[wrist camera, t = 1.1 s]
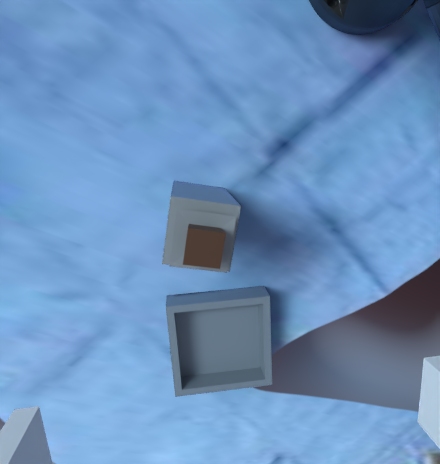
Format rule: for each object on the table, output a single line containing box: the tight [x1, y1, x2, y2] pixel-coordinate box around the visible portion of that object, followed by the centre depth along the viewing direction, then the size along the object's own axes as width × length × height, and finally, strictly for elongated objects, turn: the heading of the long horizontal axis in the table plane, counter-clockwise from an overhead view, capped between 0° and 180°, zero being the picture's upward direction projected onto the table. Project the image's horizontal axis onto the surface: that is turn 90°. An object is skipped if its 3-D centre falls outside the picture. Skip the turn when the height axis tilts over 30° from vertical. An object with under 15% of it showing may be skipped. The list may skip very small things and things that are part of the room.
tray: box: [166, 286, 272, 397], centre depth 51 cm, size 14×14×4 cm
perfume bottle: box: [162, 181, 241, 273], centre depth 39 cm, size 7×7×18 cm
